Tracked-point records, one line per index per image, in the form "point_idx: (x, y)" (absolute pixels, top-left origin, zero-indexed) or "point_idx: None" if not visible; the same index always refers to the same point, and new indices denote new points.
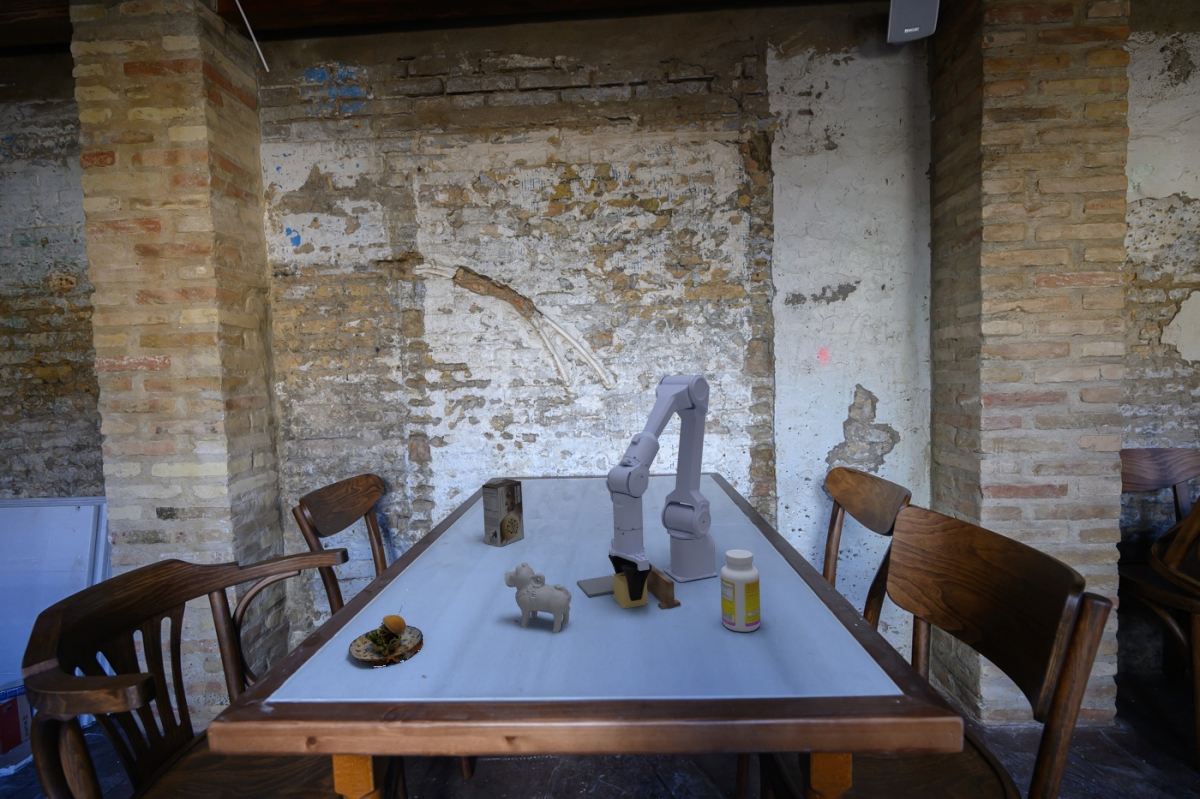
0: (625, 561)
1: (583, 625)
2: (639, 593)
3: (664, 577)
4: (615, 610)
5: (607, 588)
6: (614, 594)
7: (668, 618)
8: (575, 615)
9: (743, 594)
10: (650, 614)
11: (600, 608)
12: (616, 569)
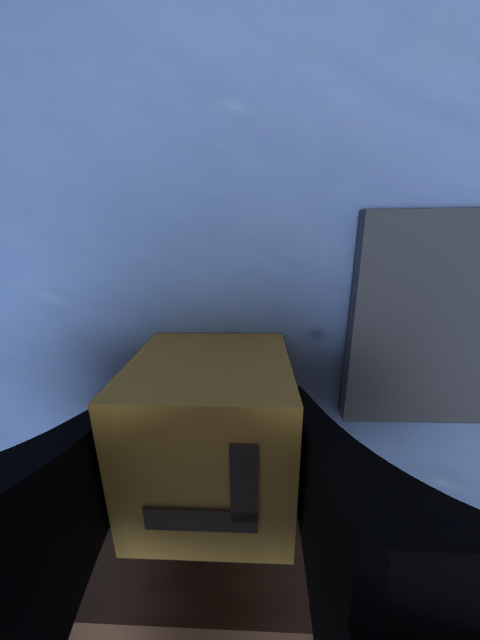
0: (324, 605)
1: (17, 52)
2: None
3: (104, 634)
4: (150, 290)
5: (391, 341)
6: (276, 342)
7: None
8: (158, 42)
9: None
10: (67, 409)
11: (198, 226)
12: (315, 461)
